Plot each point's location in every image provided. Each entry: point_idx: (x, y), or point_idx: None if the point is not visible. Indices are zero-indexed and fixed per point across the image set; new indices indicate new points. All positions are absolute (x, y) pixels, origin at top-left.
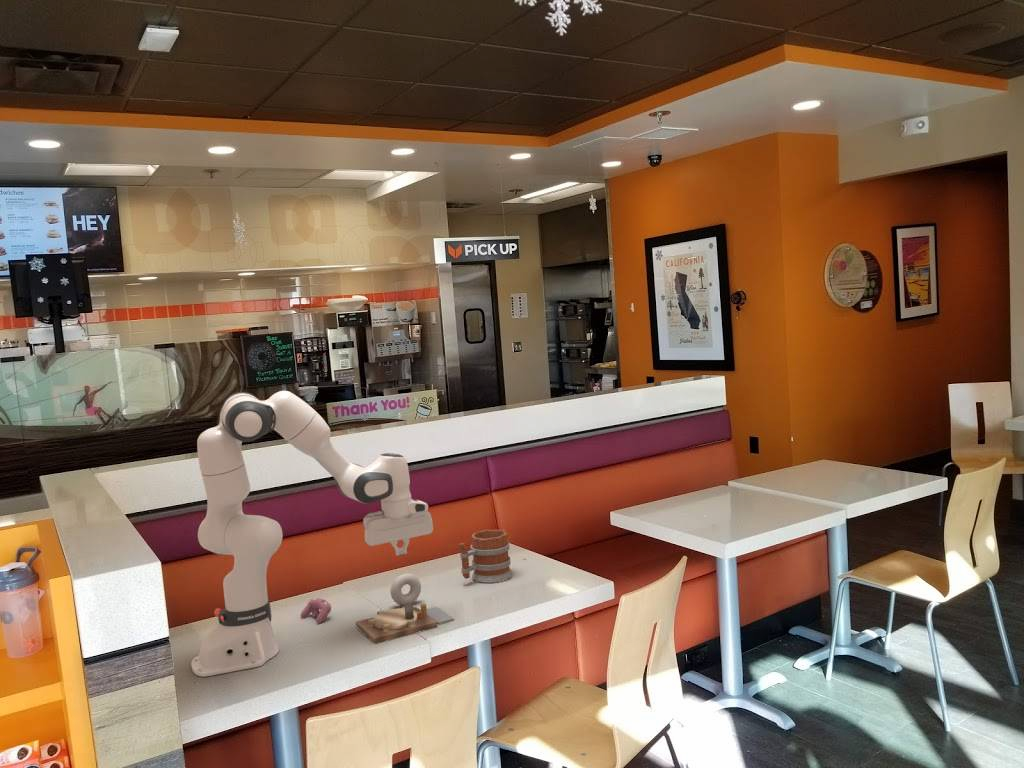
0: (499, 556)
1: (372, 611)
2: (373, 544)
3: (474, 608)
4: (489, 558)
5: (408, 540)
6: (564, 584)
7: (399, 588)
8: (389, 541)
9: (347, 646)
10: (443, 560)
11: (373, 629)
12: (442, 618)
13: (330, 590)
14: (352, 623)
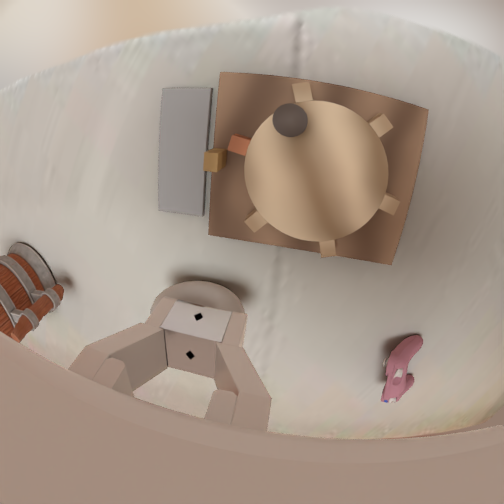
0: None
1: (297, 315)
2: (499, 432)
3: (94, 137)
4: (3, 280)
5: (86, 359)
6: None
7: None
8: (334, 444)
9: (469, 159)
10: None
11: (395, 172)
12: (186, 110)
13: (288, 433)
14: (377, 285)
